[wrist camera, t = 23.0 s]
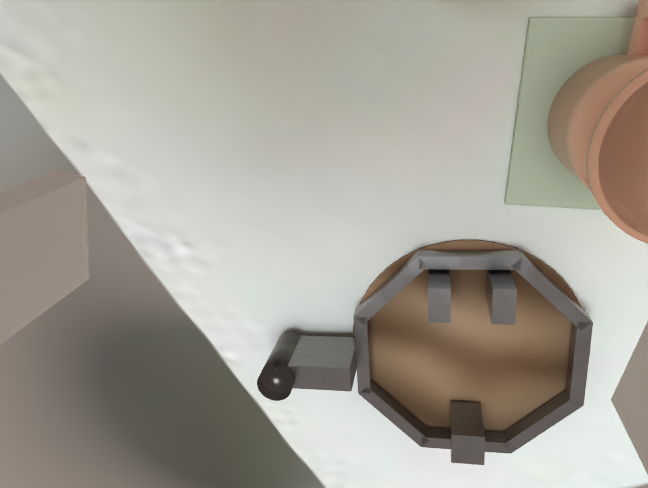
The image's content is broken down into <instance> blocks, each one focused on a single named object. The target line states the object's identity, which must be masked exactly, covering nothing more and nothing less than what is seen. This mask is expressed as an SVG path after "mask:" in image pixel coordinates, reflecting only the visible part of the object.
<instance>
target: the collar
mask: <svg viewBox="0 0 648 488" xmlns="http://www.w3.org/2000/svg"><path fill="white" fill-rule="evenodd" d="M424 269H428V323H451V284H450V271H449V270H487V285H486V300H487V305H488V309H489V314H490V319H491V323H492V324H500V325H515V318H516V300H517V288H516V285H515V282H514V279H513V276H512V274H511V271H510V270H516V271H517V272H518V273H519V274H520V275H521V276H522V277H523V278H525V279H526V280H527V281H528V282H529V283H530V284H531V285H532V286H533V287H534V288H535V289H536V290H538V291H539V292H540V293H541V294H542V295H543V296H544V297H545V298H546V299H547V300H548V301H549V302H551V303H552V304H553V305H554V306H555V307H556V308H557V309H558V310H559V311H560V312H561V313H562V314H564V315H565V316H566V317H567V318H568V319H569V320H570V321H571V322H572V334H571V344H570V354H569V364H568V374H567V384H566V391H564V392H563V393H561V394H560V395H558V396H557V397H556V398H554V399H553V400H551V401H550V402H548V403H547V404H545V405H544V406H542V407H541V408H539V409H538V410H537V411H535V412H534V413H532V414H531V415H529V416H528V417H526V418H525V419H523V420H522V421H520V422H519V423H517V424H516V425H515V426H513V427H512V428H510V429H509V430H507V431H506V432H504V433H500V432H484V425H483V418H482V410H481V403H473V402H454V401H450V429H438V428H426V427H425V426H424V425H423V424H421V423H420V422H419V421H418V420H417V419H416V418H414V417H413V416H412V415H411V414H410V413H409V412H407V411H406V410H405V409H404V408H403V407H402V406H400V405H399V404H398V403H397V402H396V401H395V400H393V399H392V398H391V397H390V396H389V395H388V394H386V393H385V392H384V391H383V390H382V389H381V388H380V387H378V386H377V385H376V384H375V383H374V382H373V381H372V371H371V352H370V332H369V319H370V318H371V317H372V316H374V315H375V314H376V313H377V312H378V311H379V310H380V309H381V308H382V307H384V306H385V305H386V304H387V303H388V302H389V301H390V300H391V299H392V298H393V297H395V296H396V295H397V294H398V293H399V292H400V291H401V290H402V289H403V288H404V287H406V286H407V285H408V284H409V283H410V282H411V281H412V280H413V279H414V278H416V277H417V276H418V275H419V274H420V273H421V272H422V271H423V270H424ZM592 326H593V322H592V320H591V318H590V316H589V315H588V313H587V312H585V311H584V310H583V309H582V308H581V307H580V306H579V305H578V304H577V303H576V302H575V301H574V300H573V299H571V298H570V297H569V296H568V295H567V294H566V293H565V292H564V291H563V290H562V289H561V288H560V287H559V286H557V285H556V284H555V283H554V282H553V281H552V280H551V279H550V278H549V277H548V276H547V275H546V274H545V273H543V272H542V271H541V270H540V269H539V268H538V267H537V266H536V265H535V264H534V263H533V262H532V261H531V260H529V259H528V258H527V257H526V256H525V255H524V254H523V253H522V252H521V251H519V250H419V251H418V252H417V253H416V254H415V255H413V256H412V257H411V258H410V259H409V260H408V261H407V262H406V263H405V264H404V265H403V266H402V267H401V268H399V269H398V270H397V271H396V272H395V273H394V274H393V275H392V276H391V277H390V278H389V279H388V280H387V281H386V282H384V283H383V284H382V285H381V286H380V287H379V288H378V289H377V290H376V291H375V292H374V293H373V294H372V295H370V296H369V297H368V298H367V299H366V300H365V301H364V302H363V303H362V304H361V305H360V306H359V307H358V308H357V309H356V310H355V314H354V330H355V337H334V336H303V335H300V334H298V333H295V332H287V333H284V334H282V335H281V336H280V337H279V339H278V341H277V343H276V345H275V347H274V349H273V351H272V353H271V355H270V357H269V358H268V360H267V362H266V364H265V366H264V368H263V370H262V372H261V374H260V376H259V378H258V381H257V385H258V389H259V391H260V392H261V393H262V394H263V395H264V396H265V397H266V398H268V399H271V400H276V401H279V400H283V399H285V398H287V397H288V396H289V395H290V393H291V390H292V388H300V389H318V390H337V391H351V390H352V386H353V381H354V377H355V373H356V368H357V378H358V393H359V394H360V395H361V396H362V397H363V398H364V399H366V400H367V401H368V402H369V403H370V404H371V405H373V406H374V407H375V408H376V409H377V410H378V411H380V412H381V413H382V414H383V415H384V416H385V417H387V418H388V419H389V420H390V421H391V422H392V423H394V424H395V425H396V426H397V427H398V428H400V429H401V430H402V431H403V432H404V433H405V434H407V435H408V436H409V437H410V438H411V439H412V440H414V441H415V442H416V443H417V444H418V445H419V446H421V447H428V448H442V449H451V462H452V463H465V464H478V465H484V454H485V452H497V453H512V452H514V451H515V450H517V449H518V448H520V447H521V446H523V445H524V444H526V443H527V442H529V441H530V440H532V439H533V438H535V437H536V436H538V435H539V434H541V433H542V432H544V431H546V430H547V429H549V428H550V427H552V426H553V425H555V424H556V423H558V422H559V421H561V420H562V419H564V418H565V417H567V416H568V415H570V414H571V413H573V412H574V411H576V410H577V409H579V408H580V407H582V406H583V405H584V396H585V388H586V379H587V370H588V361H589V352H590V344H591V335H592Z"/></svg>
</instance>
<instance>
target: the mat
mask: <svg viewBox="0 0 648 488" xmlns="http://www.w3.org/2000/svg"><path fill="white" fill-rule="evenodd" d="M634 22H635V17H531V18H529V22H528V29H527V37H526V44H525V52H524V59H523V67H522V74H521V82H520V89H519V97H518V104H517V112H516V119H515V127H514V134H513V142H512V149H511V157H510V164H509V172H508V179H507V187H506V194H505V201H504V202H505V204H510V205H527V206H545V207H563V208H580V209H598V210H601V208H600V207H599V205H598V204H597V202H596V200H595V198H594V196H593V194H592V192H591V191H590V190H589V189H588V188H587V187H586V186H585V185H583V184H582V183H581V182H580V181H579V180H578V179H577V178H576V177H575V176H574V175H573V174H572V173H571V172H570V171H569V170H568V169H567V168H566V167H565V166H564V165H563V164H562V163H561V162H560V161H559V160H558V159H557V157H556V156H555V154H554V152H553V150H552V148H551V145H550V142H549V138H548V130H547V123H548V116H549V111H550V108H551V105H552V103H553V100H554V98H555V96H556V94H557V93H558V91H559V90H560V88H561V87H562V85H563V84H564V83H565V82H566V81H567V80H568V79H569V78H570V77H571V76H572V75H573V74H574V73H575V72H576V71H578V70H579V69H580V68H582V67H583V66H585V65H587V64H589V63H590V62H592V61H595V60H597V59H599V58H602V57H606V56H609V55H614V54H624V53H628V49H629V45H630V40H631V36H632V31H633V26H634Z"/></svg>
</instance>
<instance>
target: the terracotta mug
mask: <svg viewBox="0 0 648 488" xmlns="http://www.w3.org/2000/svg"><path fill="white" fill-rule="evenodd" d="M547 130H548V138H549V142H550V145H551V148H552V150H553V152H554V154H555V156H556V157H557V159H558V160H559V161H560V162H561V163H562V164H563V165H564V166H565V167H566V168H567V169H568V170H569V171H570V172H571V173H572V174H573V175H574V176H575V177H576V178H577V179H578V180H579V181H580V182H581V183H582V184H583V185H585V186H586V187H587V188H588V189H589V190H590V191H591V192H592V194H593V196H594V198H595V200H596V202H597V204H598V205H599V207H600V208H601V210H602V211H603V212H604V213H605V214H606V215H607V216H608V217H609V219H610V220H611V221H612V222H613V223H614V224H615V225H616V226H618V227H619V228H620V229H622V230H623V231H624V232H625V233H627V234H629V235H630V236H632V237H634V238H636V239H638V240H640V241H643V242H645V243H648V0H639V3H638V8H637V13H636V17H635V22H634V26H633V31H632V36H631V40H630V45H629V49H628V53H624V54H614V55H609V56H606V57H602V58H599V59H597V60H595V61H592V62H590V63H589V64H587V65H585V66H583V67H582V68H580V69H579V70H578V71H576V72H575V73H574V74H573V75H572V76H571V77H570V78H569V79H568V80H567V81H566V82H565V83H564V84H563V85H562V87H561V88H560V90H559V91H558V93H557V94H556V96H555V98H554V100H553V103H552V105H551V108H550V111H549V116H548V123H547Z"/></svg>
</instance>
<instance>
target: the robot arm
mask: <svg viewBox="0 0 648 488" xmlns="http://www.w3.org/2000/svg"><path fill="white" fill-rule="evenodd" d="M88 279H89V258H88V230H87V201H86V177H84V176H79V175H74V174H69V173H65V172H60V171H54V172H52V173H49V174H46V175H44V176H41V177H39V178H36V179H33V180H31V181H28V182H26V183H23V184H21V185H18V186H15V187H13V188H10V189H7V190H5V191H2V192H0V344H2V343H3V342H4V341H6V340H7V339H8V338H10V337H11V336H12V335H14V334H15V333H16V332H18V331H19V330H20V329H22V328H23V327H24V326H26V325H27V324H28V323H30V322H31V321H32V320H34V319H35V318H37V317H38V316H39V315H41V314H42V313H43V312H45V311H46V310H47V309H49V308H50V307H51V306H53V305H54V304H55V303H57V302H58V301H59V300H61V299H62V298H64V297H65V296H66V295H68V294H69V293H70V292H72V291H73V290H74V289H75V288H77V287H78V286H79V285H81V284H82V283H84V282H85V281H86V280H88ZM611 401H612V403H613V405H614V407H615V409H616V411H617V413H618V415H619V417H620V419H621V421H622V423H623V425H624V427H625V429H626V431H627V433H628V435H629V437H630V439H631V441H632V443H633V445H634V447H635V449H636V451H637V453H638V456H639V458H640V460H641V462H642V464H643V466H644V468H645V470H646V472H647V474H648V322H647V324H646V326H645V328H644V330H643V333H642V335H641V337H640V339H639V341H638V343H637V345H636V347H635V350H634V352H633V354H632V356H631V358H630V360H629V362H628V365H627V367H626V369H625V371H624V373H623V375H622V377H621V379H620V382H619V384H618V386H617V388H616V390H615V392H614V394H613V396H612V399H611Z"/></svg>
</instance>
